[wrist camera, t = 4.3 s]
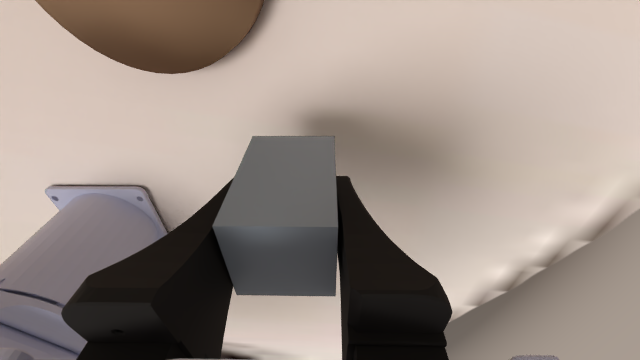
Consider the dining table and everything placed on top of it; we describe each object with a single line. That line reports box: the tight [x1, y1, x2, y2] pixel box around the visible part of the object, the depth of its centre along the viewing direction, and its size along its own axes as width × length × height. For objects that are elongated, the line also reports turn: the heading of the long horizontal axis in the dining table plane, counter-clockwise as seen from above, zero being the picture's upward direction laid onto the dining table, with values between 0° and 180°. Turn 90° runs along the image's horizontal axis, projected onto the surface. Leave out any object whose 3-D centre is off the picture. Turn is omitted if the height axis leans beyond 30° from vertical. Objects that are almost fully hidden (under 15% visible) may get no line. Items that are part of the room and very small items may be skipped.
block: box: [212, 136, 338, 296], centre depth 12 cm, size 4×4×6 cm
